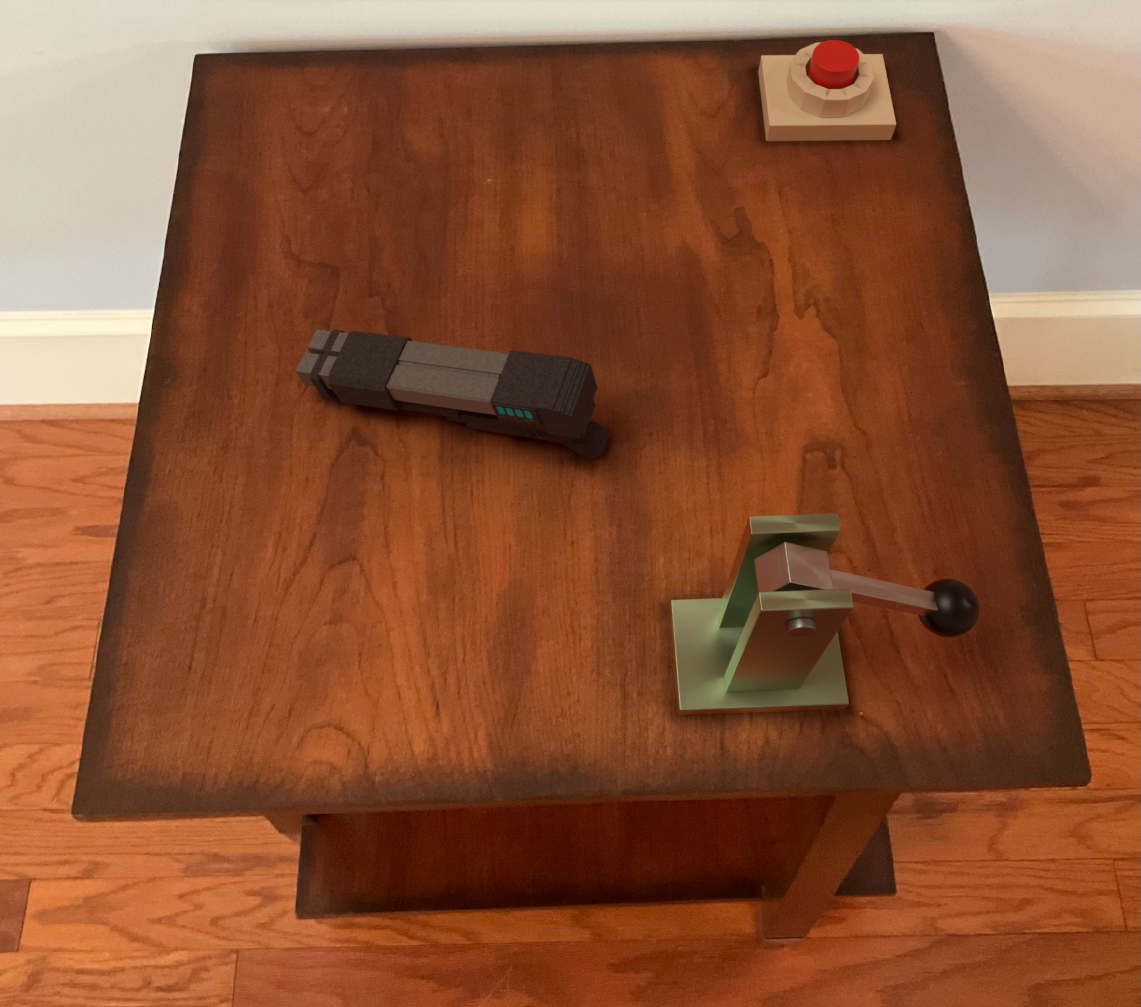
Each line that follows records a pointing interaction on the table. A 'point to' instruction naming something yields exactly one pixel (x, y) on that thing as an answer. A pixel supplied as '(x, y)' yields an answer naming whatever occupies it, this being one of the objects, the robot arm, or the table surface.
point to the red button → (833, 64)
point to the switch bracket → (763, 633)
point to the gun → (460, 385)
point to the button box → (824, 101)
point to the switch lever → (869, 588)
